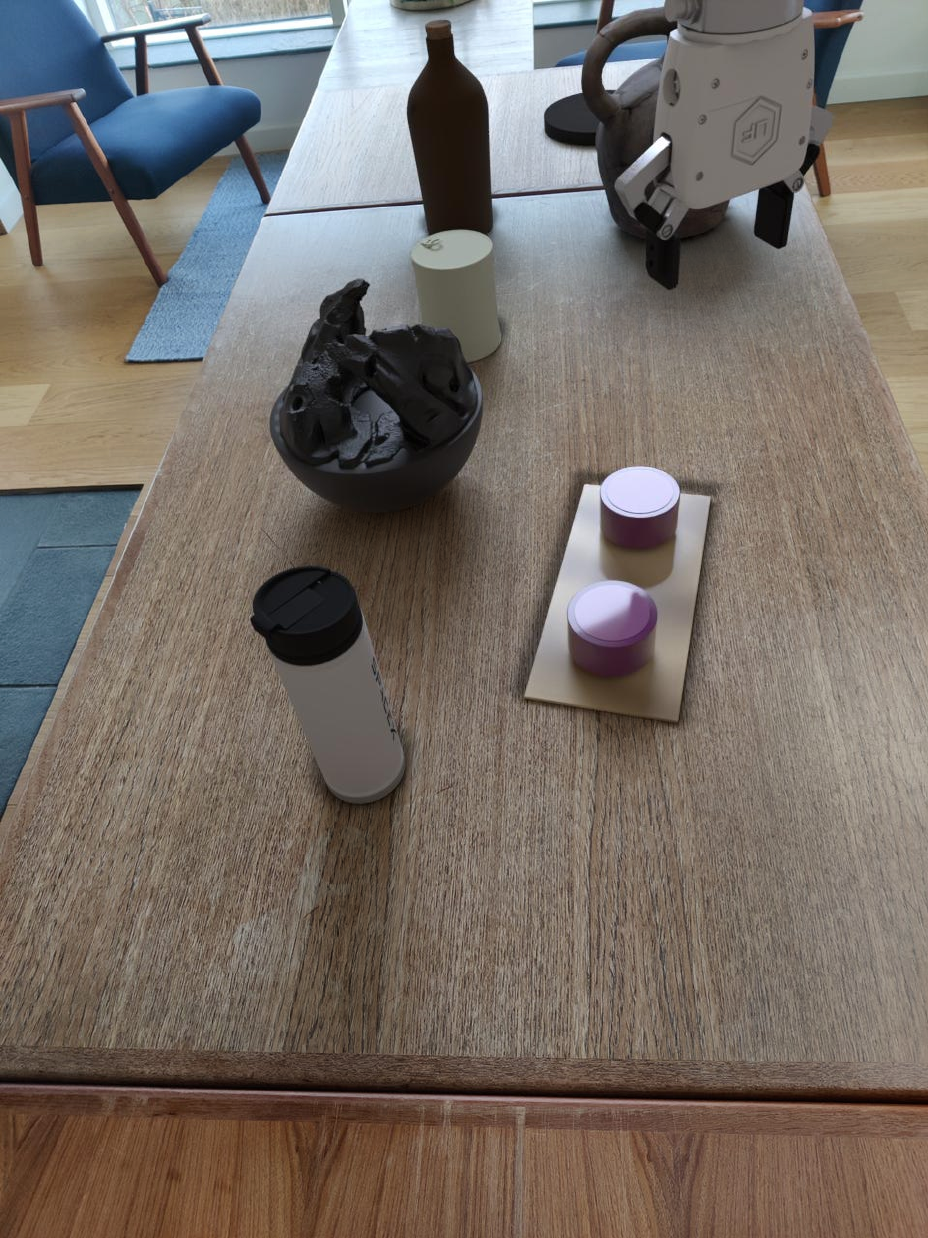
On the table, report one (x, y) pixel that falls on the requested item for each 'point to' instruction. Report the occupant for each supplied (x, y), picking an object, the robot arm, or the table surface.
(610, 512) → the purple short cylinder
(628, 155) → the vessel
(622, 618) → the purple short cylinder
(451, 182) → the olive oil
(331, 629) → the travel mug
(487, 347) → the can
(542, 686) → the beige metallic rectangular plate
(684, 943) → the table surface
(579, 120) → the wireless charger
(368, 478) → the coal bowl
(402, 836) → the table surface
